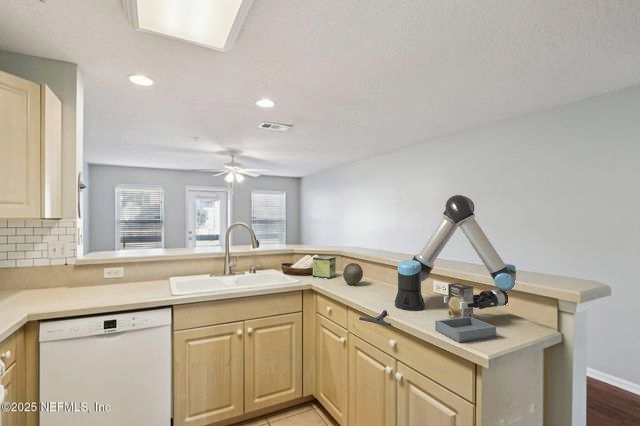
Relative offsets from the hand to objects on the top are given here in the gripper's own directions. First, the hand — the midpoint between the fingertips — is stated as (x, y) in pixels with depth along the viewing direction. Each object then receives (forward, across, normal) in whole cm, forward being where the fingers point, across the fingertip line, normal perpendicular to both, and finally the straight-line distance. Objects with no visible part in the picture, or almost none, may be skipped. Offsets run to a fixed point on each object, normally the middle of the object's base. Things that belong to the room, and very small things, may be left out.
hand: (452, 302), depth 135 cm
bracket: (+28, +14, -9) cm, 33 cm away
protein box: (+21, +115, -9) cm, 117 cm away
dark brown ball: (+11, +82, -9) cm, 83 cm away
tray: (+6, -13, -8) cm, 16 cm away
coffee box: (-4, 0, -9) cm, 10 cm away
